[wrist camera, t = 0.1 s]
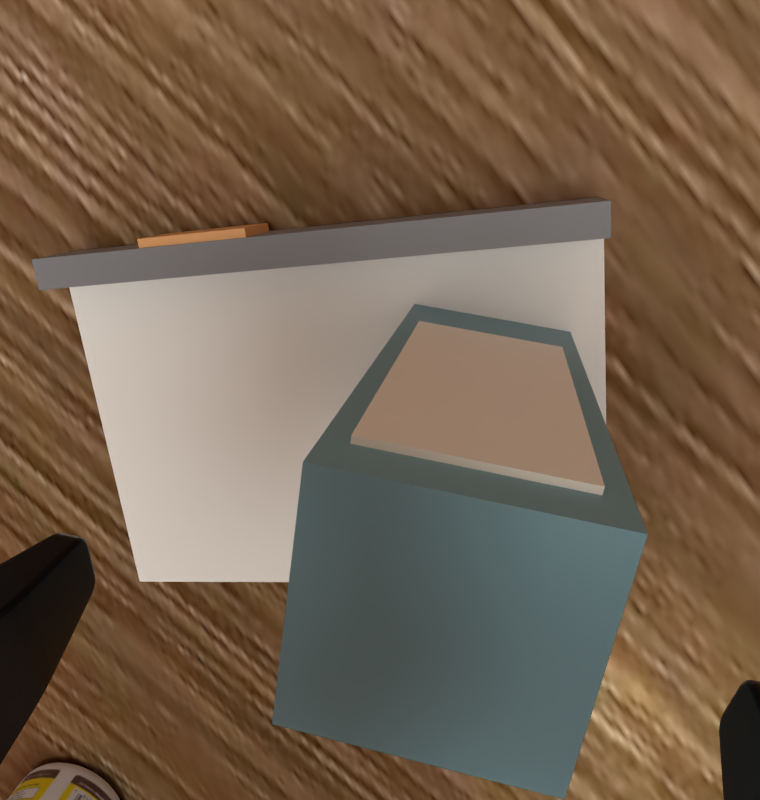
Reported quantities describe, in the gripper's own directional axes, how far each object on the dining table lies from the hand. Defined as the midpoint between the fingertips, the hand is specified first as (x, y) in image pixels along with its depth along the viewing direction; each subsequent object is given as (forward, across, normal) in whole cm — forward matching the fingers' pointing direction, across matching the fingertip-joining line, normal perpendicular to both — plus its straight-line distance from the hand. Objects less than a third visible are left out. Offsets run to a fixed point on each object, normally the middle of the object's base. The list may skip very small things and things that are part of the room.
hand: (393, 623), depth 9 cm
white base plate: (+14, +4, +7) cm, 16 cm away
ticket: (+16, +9, +1) cm, 18 cm away
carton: (+14, -1, +5) cm, 14 cm away
